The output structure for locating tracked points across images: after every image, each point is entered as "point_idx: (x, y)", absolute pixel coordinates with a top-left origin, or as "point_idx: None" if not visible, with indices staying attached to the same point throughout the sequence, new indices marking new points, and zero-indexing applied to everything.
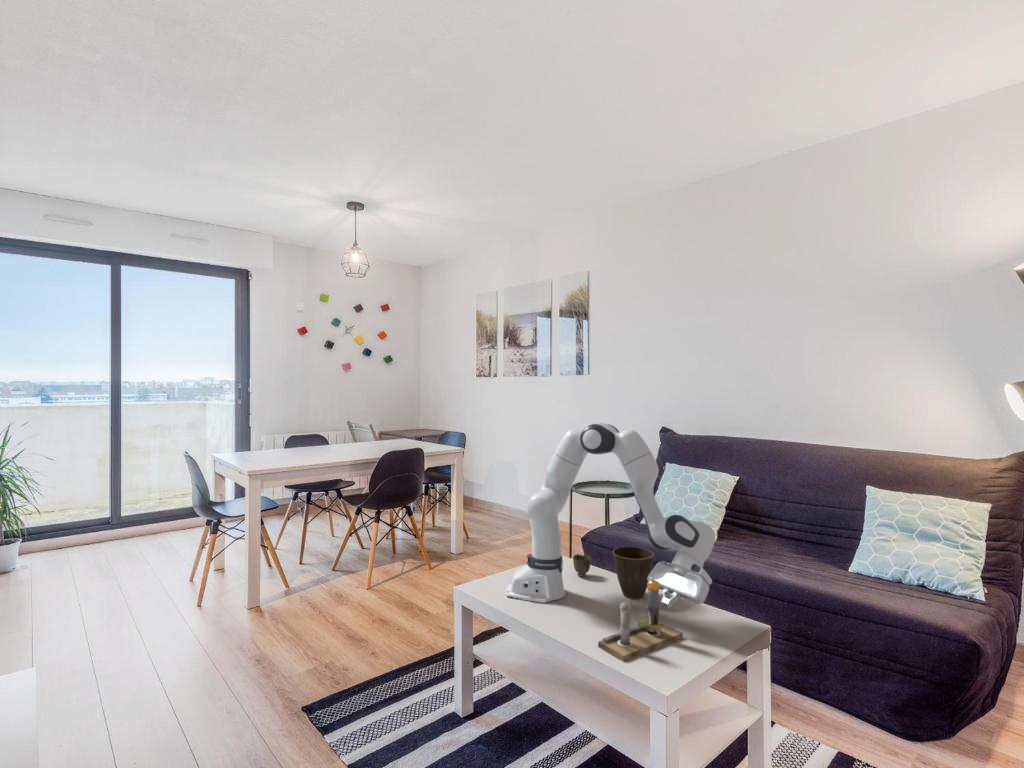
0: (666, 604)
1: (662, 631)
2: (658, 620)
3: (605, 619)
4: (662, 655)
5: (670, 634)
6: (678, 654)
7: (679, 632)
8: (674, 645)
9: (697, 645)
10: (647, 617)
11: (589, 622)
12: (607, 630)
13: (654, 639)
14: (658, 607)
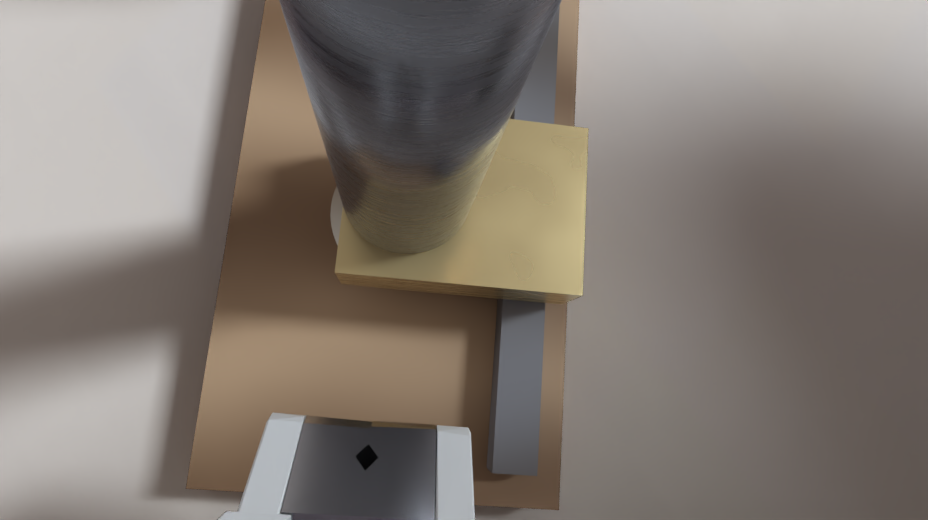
0: (323, 417)
1: (361, 326)
2: (342, 203)
3: (899, 201)
4: (157, 25)
5: (262, 333)
6: (60, 141)
7: (218, 462)
8: (179, 263)
9: (3, 453)
10: (544, 260)
11: (916, 54)
12: (733, 49)
13: (311, 114)
14: (320, 130)
